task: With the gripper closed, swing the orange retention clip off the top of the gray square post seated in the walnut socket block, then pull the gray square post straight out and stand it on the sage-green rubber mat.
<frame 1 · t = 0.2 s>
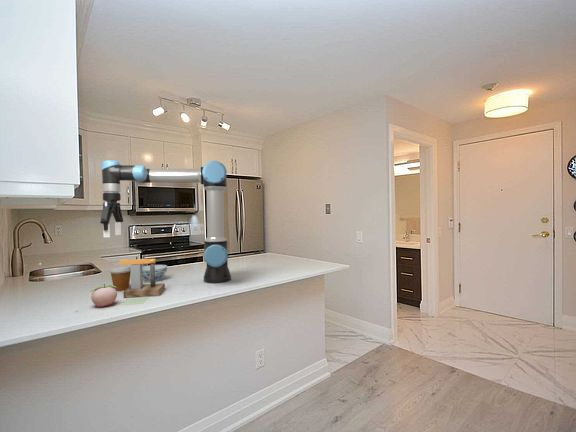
hand: (112, 236, 149), 28 cm above the countertop, tool pointing down, fingers open, 13 cm apart
clip: (138, 261, 142), point 16 cm above the countertop, hinge at 0.0°
disposable coffee cup: (121, 291, 151), on the countertop
decorative fruit: (105, 308, 126), on the countertop
gray square post: (137, 294, 142), point 1 cm above the countertop, touching socket block
mat: (135, 303, 131), on the countertop
socket block: (145, 295, 143), on the countertop
chinaware: (153, 281, 174), on the countertop
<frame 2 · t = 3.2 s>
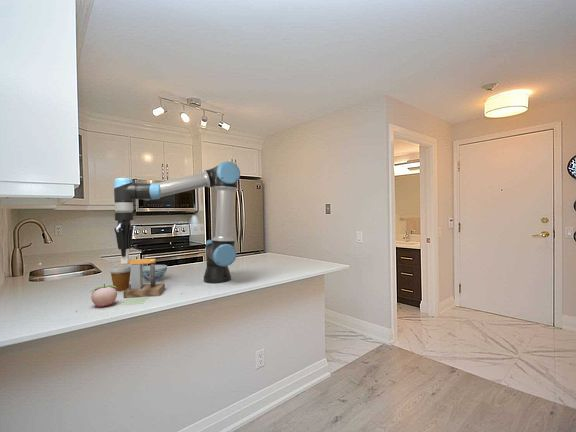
hand: (125, 263, 140), 16 cm above the countertop, tool pointing down, fingers closed
clip: (138, 261, 142), point 16 cm above the countertop, hinge at 2.8°, touching gripper
everything else where it was.
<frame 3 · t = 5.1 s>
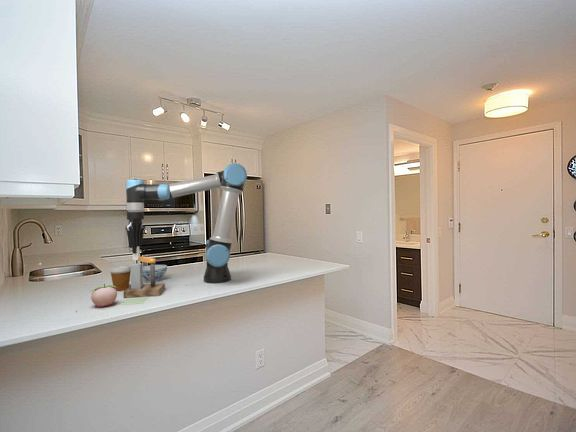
hand: (136, 259, 149), 16 cm above the countertop, tool pointing down, fingers closed
clip: (146, 259, 147), point 16 cm above the countertop, hinge at 50.9°, touching gripper
everything else where it was.
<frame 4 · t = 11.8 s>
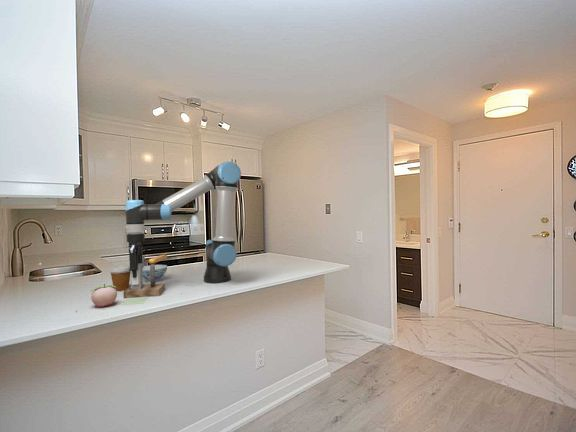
hand: (137, 283, 142), 6 cm above the countertop, tool pointing down, fingers closed on gray square post, 4 cm apart
clip: (158, 258, 150), point 16 cm above the countertop, hinge at 101.2°
gray square post: (137, 294, 142), point 1 cm above the countertop, touching gripper, socket block
everything else where it was.
when the fingers open (8 cm above the countertop, at t = 18.7 s): gray square post drops 1 cm, resting on mat.
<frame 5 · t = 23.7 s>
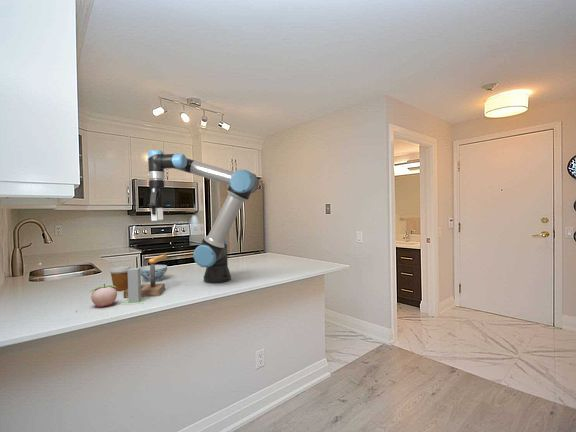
hand: (157, 220, 161), 35 cm above the countertop, tool pointing down, fingers open, 13 cm apart
gray square post: (135, 301, 131), point 1 cm above the countertop, touching mat
everything else where it was.
at the end: clip at +101° (first picture: +0°); gray square post inside the target area on the mat (0.0 cm from its centre), point 1.0 cm above the mat's base; gray square post tilted 0° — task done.
